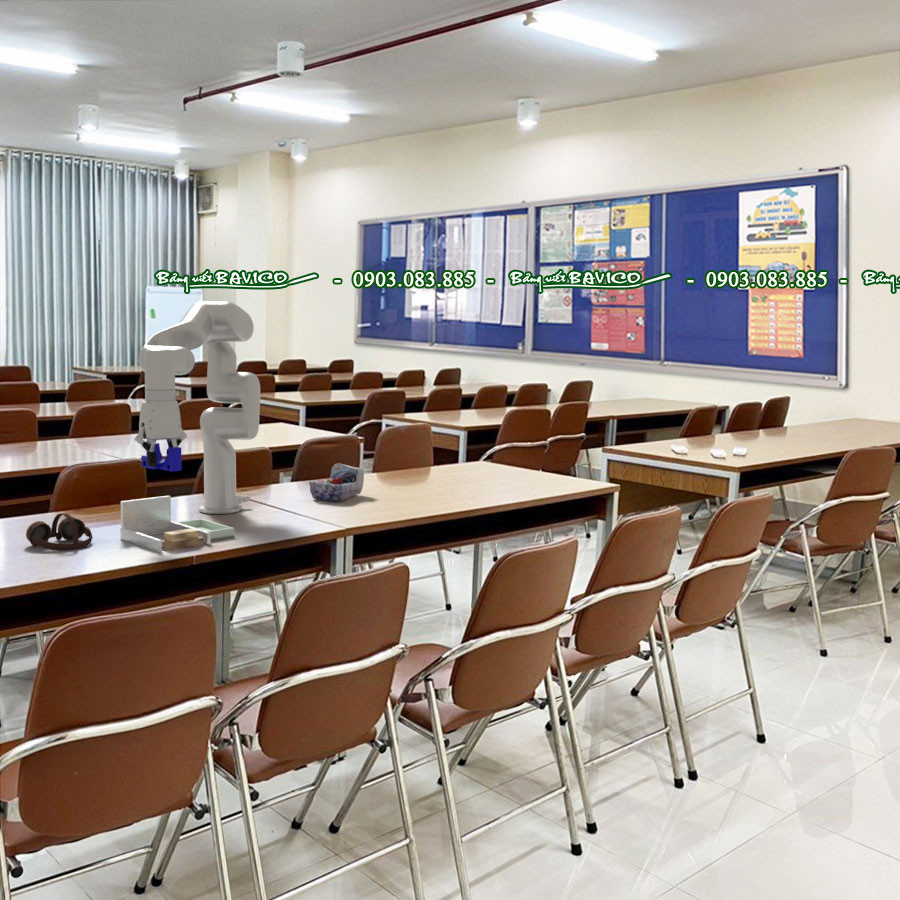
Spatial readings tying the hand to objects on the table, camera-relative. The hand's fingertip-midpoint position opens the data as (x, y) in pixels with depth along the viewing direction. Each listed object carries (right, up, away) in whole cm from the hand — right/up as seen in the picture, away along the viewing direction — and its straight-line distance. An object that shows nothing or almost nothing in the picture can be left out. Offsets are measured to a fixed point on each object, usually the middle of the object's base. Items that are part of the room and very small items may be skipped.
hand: (161, 464), depth 267 cm
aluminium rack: (0, -20, +1) cm, 20 cm away
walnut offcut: (+6, -22, -4) cm, 23 cm away
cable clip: (0, -1, 0) cm, 1 cm away
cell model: (+38, -12, +70) cm, 81 cm away
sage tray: (+8, -19, +11) cm, 24 cm away
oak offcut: (+6, -19, -4) cm, 21 cm away
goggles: (-24, -21, -5) cm, 32 cm away
